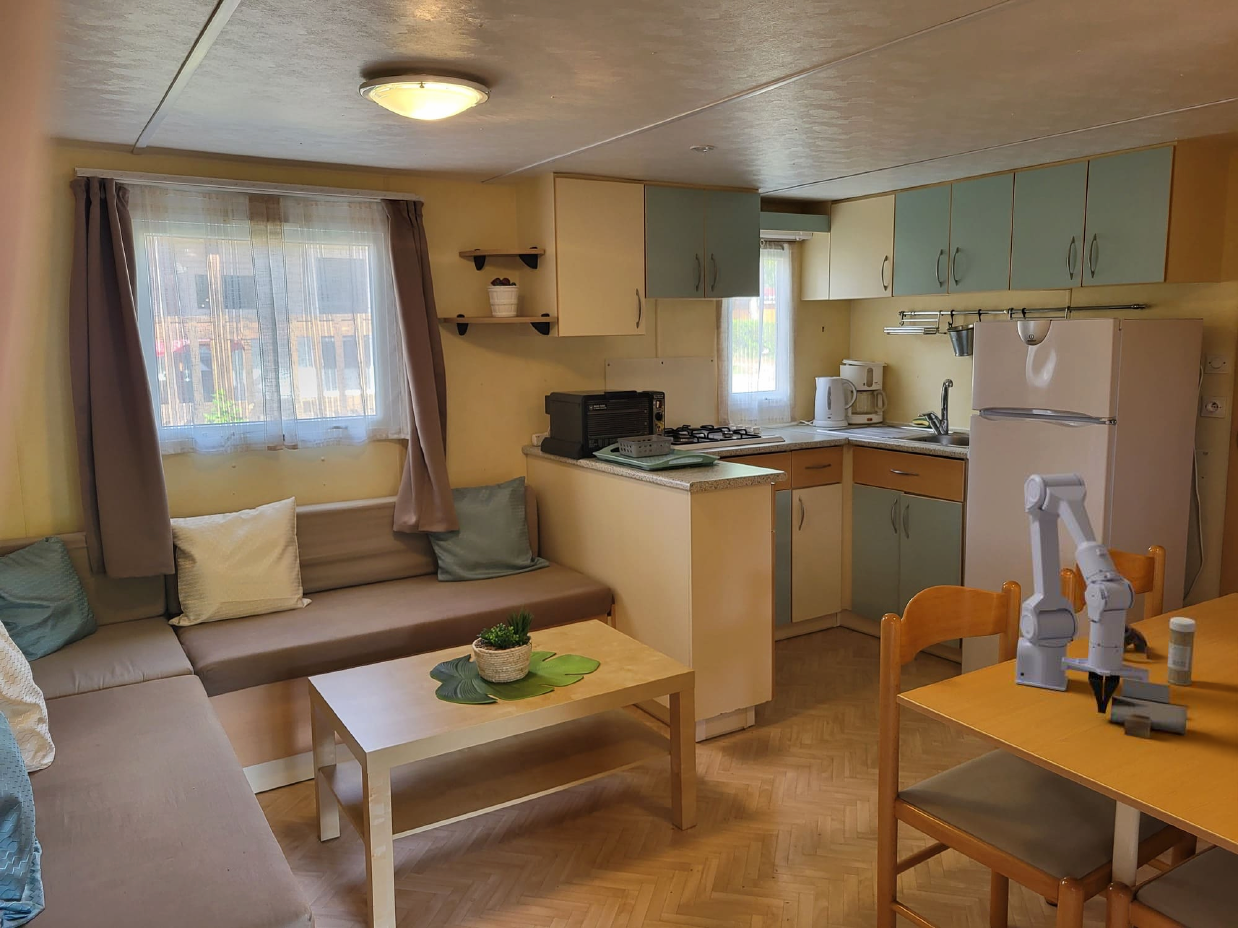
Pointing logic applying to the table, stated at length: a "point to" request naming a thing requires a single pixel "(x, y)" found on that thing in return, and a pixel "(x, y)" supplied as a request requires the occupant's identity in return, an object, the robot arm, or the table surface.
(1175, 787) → the table surface
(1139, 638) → the dark looped band
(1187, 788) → the table surface
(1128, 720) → the blocks
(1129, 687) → the v block
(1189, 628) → the sprinkles bottle
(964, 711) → the table surface
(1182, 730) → the axle
